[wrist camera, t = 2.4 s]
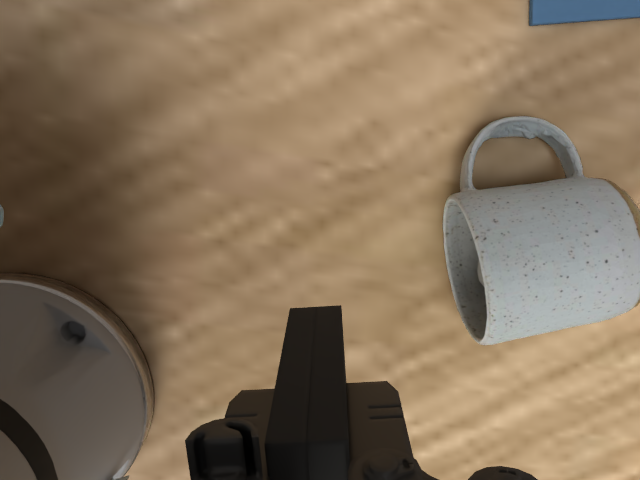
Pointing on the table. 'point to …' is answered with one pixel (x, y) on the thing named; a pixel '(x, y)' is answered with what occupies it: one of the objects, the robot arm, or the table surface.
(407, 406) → the table surface
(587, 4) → the blue flat rectangular panel
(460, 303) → the ceramic mug
